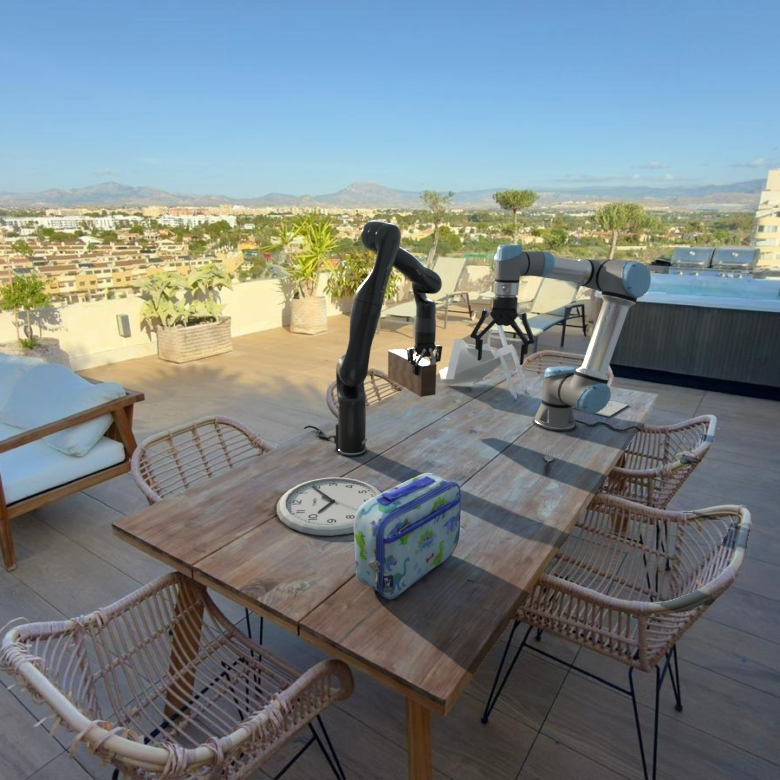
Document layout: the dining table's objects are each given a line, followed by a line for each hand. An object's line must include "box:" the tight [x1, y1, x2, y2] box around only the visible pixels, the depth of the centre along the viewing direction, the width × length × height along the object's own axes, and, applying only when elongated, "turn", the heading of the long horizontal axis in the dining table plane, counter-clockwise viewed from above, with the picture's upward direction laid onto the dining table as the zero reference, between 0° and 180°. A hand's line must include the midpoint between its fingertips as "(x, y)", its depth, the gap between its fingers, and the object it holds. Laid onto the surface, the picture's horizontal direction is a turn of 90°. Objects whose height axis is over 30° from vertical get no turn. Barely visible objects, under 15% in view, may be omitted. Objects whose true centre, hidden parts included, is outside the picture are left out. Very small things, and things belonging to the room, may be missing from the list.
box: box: [387, 348, 438, 398], centre depth 203 cm, size 28×6×12 cm, turn 26°
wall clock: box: [276, 476, 383, 537], centre depth 142 cm, size 30×2×30 cm
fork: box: [544, 449, 554, 474], centre depth 169 cm, size 3×16×2 cm, turn 160°
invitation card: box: [575, 400, 629, 418], centre depth 226 cm, size 21×1×15 cm
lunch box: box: [353, 472, 462, 600], centre depth 112 cm, size 26×11×21 cm, turn 134°
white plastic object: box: [438, 323, 531, 400], centre depth 245 cm, size 37×45×31 cm
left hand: (423, 373), depth 194 cm, fingers closed on box, 6 cm apart
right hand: (500, 361), depth 170 cm, fingers open, 13 cm apart
